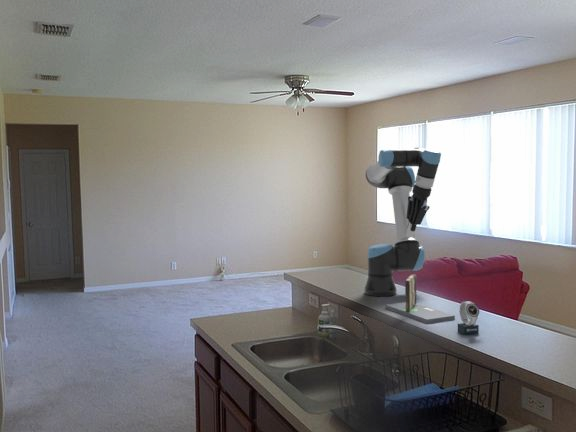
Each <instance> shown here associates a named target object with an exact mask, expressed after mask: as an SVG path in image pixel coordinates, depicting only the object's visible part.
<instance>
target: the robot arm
mask: <svg viewBox="0 0 576 432" xmlns="http://www.w3.org/2000/svg"><path fill="white" fill-rule="evenodd" d="M441 156H442V153H441V151H439V150H437V149H433V148H425V147H422V146H416V147H413V148H405V149H404V148H403V149H402V148H397V149H396V148H395V149H392V148H387V149H381V150H380V151H379V154H378V160H377V162H376V163H374V164H371V165H370V166H368V168H367V169H366V171H365V179H366V181H367V183H368V184H369V185H370V186H372V187H374V188H377V189H388V194H390V195H391V198H392V207H393V215H394V223H395V232H396V242H394V245H393V244H392V243H381V244H374V245H372V246H370V247H368V249H367V278H366V279H367V280H366V282H365V287H364V294H365V295H367V296H372V297H390V296H395V295H397V294H398V293H397V291H398V290H397V286H396V283H395V280H394V278H393V275H394V273H393V272H406V271H409V272H410V271H411V272H414V271H419V270H421V269H422V268H423V267H424V266H423V265H424V263H425V258H426V257H425V256H426V252H425V248H424V246H423V245H420V241H419V240H418V239H417V238H416V234H415V232H416V229H417V225H421V224H422V221H423V220H424V219H425V216H426V213H427V212H428V210H429V209H430V205H428V204H427V203H428V198H429V197H430V196H431V193H432V188H433V187H434V183H435V179H436V175H437V171H438V167H439V165H440V163H441V158H442V157H441ZM412 167H418V169H417V173H416V176H415V172H414V170H413V168H412ZM411 192H412V195H411V194H410V193H411Z"/></svg>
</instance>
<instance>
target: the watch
mask: <svg viewBox="0 0 576 432" xmlns="http://www.w3.org/2000/svg"><path fill="white" fill-rule="evenodd" d="M479 315H480V309H479V307H478V306H477V304H475V303H474V302H472V301H470V300H469V301H468V300H467V301H461V303H460V305H459V316H460V319H461V322H458V323H457V333H459V334H461V335H463V336H470V335H479V332H480V331H479V327H480V326H479V324H477V323H476V322H477V320H478V319H479Z"/></svg>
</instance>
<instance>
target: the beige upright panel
mask: <svg viewBox="0 0 576 432" xmlns="http://www.w3.org/2000/svg"><path fill="white" fill-rule="evenodd" d="M404 284H405V295H404V296H405V302H406V311H410V309H411V308H412V307H413V306H414V304H416V303H417V274H409V276H408V277H407V278H406V280H405V282H404Z"/></svg>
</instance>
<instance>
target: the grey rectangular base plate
mask: <svg viewBox="0 0 576 432" xmlns="http://www.w3.org/2000/svg"><path fill="white" fill-rule="evenodd" d="M385 309H387V310H389V311H392V312H395V313H398V314H400V315H403V316H405V317H408V318H411V319H413V320H416V321H419V322H421V323H424V324H431V323H432V324H433V323H439V322H446V321H452V320H453V321H454V320H455V319H456V317H455V314H451V313H447V312H445V311H441V310H439V309H435V308H432V307H430V306H426V305H423V304H420V303H417V302H416V304H414V306H413V307H412V308H411V309H410V311H406V301H405V302H397V303H391V304H390V303H388V304H385Z"/></svg>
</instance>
